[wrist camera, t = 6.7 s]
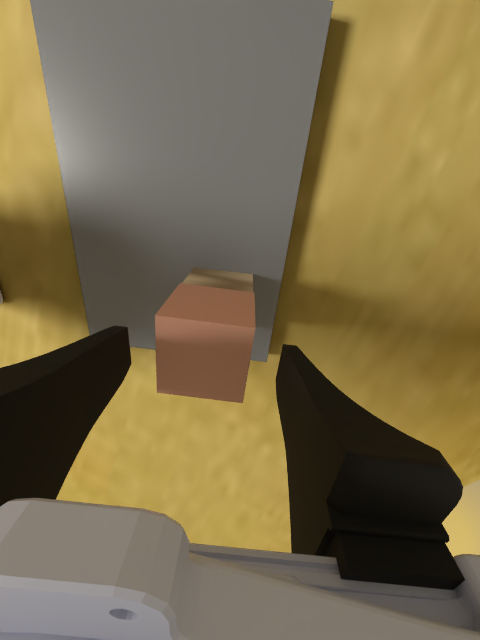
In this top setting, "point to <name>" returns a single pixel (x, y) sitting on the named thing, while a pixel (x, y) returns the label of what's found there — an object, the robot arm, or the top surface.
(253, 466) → the top surface
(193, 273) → the maple block
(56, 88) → the plate
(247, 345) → the terracotta block
